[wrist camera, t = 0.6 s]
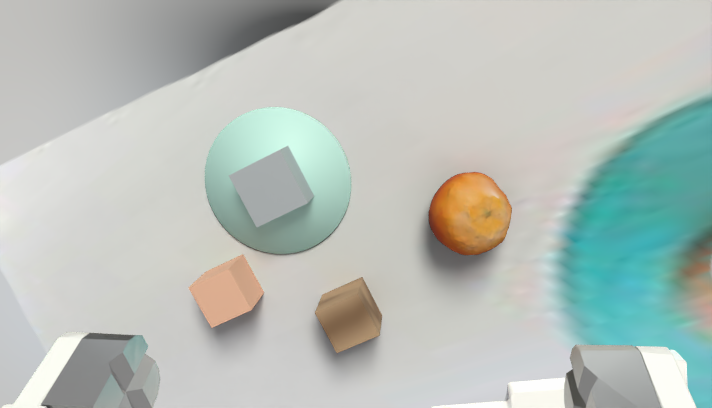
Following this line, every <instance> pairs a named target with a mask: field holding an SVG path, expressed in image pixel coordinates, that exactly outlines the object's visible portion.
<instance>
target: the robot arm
mask: <svg viewBox="0 0 712 408" xmlns="http://www.w3.org/2000/svg"><path fill="white" fill-rule="evenodd" d="M147 348H148V345H147V343H146V342H145V340H144V338H143V336H140V335H121V334H102V333H79V332H66V333H64V334H63V335H62V336H60V337H59V338H58V339H57V340H56V342H55V343H54V345H53V346H52V348H51V349H50V351H49V352H48V354H47V355H46V357H45V358H44V359H43V361H42V363H41V364H40V365H39V367H38V368H37V370H36V371H35V373H34V374H33V376H32V377H31V379H30V380H29V382H28V383H27V385H26V386H25V388H24V389H23V391H22V392H21V394H20V395H19V397H18V398H17V400H16V401H15V402H14V404H13V405H12V404H6V405H5V406H3V407H2V408H153V405H154V403H155V400H156V398H157V396H158V391H159V384H160V374H159V368H158V366H157V364H156V362H155V360H153V359H152V358H150V357H149V356H147V355H146V354H145V352H146V350H147ZM570 360H571V364H572V368H573V369H572V370H571V371H569V372H568V373H566V378H565V383H564V404H565V408H696V405H695V403H694V401H693V399H692V397H691V394H690V392H689V390H688V388H687V385H686V383H685V381H684V379H683V376H682V374H681V372H680V370H679V367H678V365H677V363H676V361H675V359H674V356H673V354H672V352H671V351H670V350H669V349H668V348H667V347H645V346H635V347H634V346H630V345H575V346H574V347H573V348H572V352H571V356H570Z"/></svg>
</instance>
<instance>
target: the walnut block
mask: <svg viewBox="0 0 712 408" xmlns="http://www.w3.org/2000/svg"><path fill="white" fill-rule="evenodd" d="M315 314H316V316H317V317H318V319H319V321H320V323H321V325H322V327H323V329H324V330H325V332H326V334H327V336H328V338H329V340H330V342H331V343H332V345H333V347H334V349H335V351H336V353H339V352H341V351H343V350H346V349H348V348H351V347H353V346H355V345H358V344H360V343H363V342H365V341H367V340H370V339H372V338H374V337H377V336H379V335H380V328H381V320H382V314H381V312H380V311H379V309H378V307H377V305H376V303H375V301H374V299H373V297H372V295H371V293H370V291H369V289H368V287H367V285H366V284H365V282H364V280H363V278H362V277H361V278H359V279H357V280H355V281H352V282H350V283H348V284H345V285H343V286H341V287H339V288H336V289H334V290H332V291H330V292H327V293H325V294H323V295H322V297H321V299H320V302H319V304H318V307H317V309H316V311H315Z"/></svg>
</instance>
